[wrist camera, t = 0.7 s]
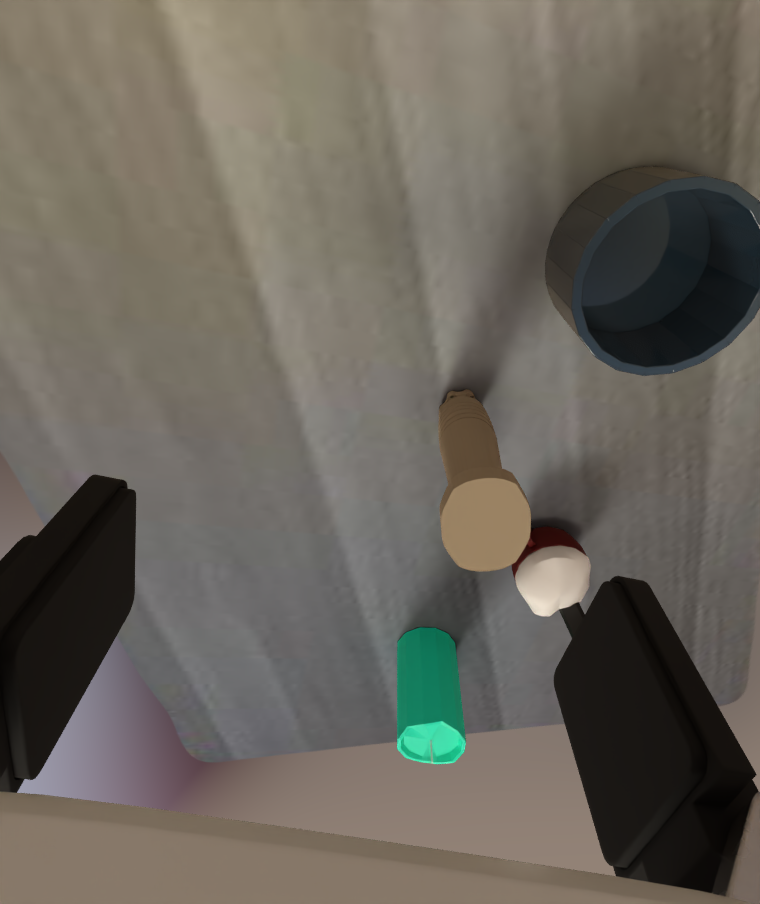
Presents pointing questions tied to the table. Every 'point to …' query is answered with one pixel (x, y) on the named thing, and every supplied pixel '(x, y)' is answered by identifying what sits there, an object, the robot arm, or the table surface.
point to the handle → (478, 490)
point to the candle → (429, 698)
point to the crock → (657, 268)
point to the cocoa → (553, 575)
